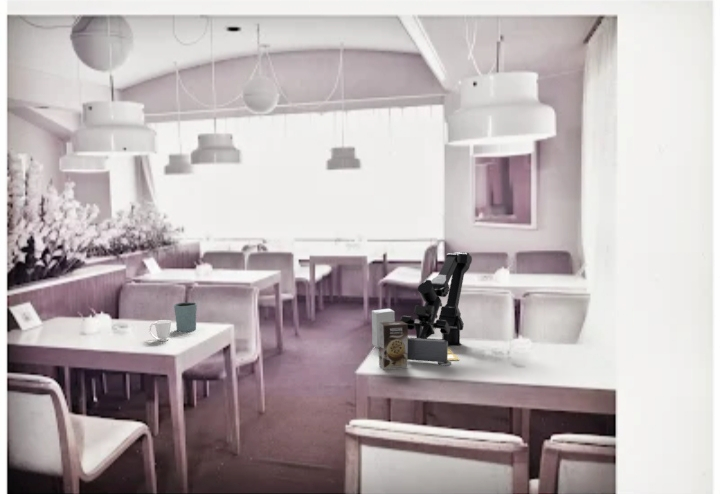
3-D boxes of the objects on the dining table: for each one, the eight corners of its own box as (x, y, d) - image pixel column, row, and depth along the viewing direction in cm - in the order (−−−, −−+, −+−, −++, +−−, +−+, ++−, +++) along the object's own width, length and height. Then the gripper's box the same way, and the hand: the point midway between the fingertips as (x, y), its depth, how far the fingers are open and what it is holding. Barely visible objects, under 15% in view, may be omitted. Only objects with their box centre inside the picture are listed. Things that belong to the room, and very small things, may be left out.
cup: (166, 342, 267) (165, 323, 267) (145, 341, 270) (144, 322, 269) (175, 338, 274) (174, 320, 274) (154, 337, 277) (154, 319, 276)
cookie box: (384, 370, 224) (383, 325, 223) (378, 365, 230) (378, 321, 229) (408, 368, 226) (408, 323, 225) (402, 363, 233) (402, 320, 231)
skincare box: (390, 343, 263) (389, 308, 262) (395, 346, 257) (395, 310, 256) (371, 345, 260) (371, 309, 259) (376, 348, 255) (376, 312, 253)
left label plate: (454, 354, 244) (454, 353, 244) (459, 360, 236) (459, 359, 236) (439, 355, 244) (439, 354, 243) (443, 360, 236) (443, 359, 236)
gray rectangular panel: (447, 360, 232) (447, 339, 231) (446, 362, 230) (446, 340, 229) (406, 358, 236) (406, 336, 235) (404, 359, 234) (404, 338, 233)
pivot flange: (449, 362, 234) (449, 360, 234) (452, 365, 229) (452, 364, 229) (436, 362, 234) (436, 360, 234) (438, 366, 229) (438, 364, 229)
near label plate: (448, 349, 253) (448, 347, 253) (452, 354, 245) (452, 353, 245) (433, 349, 252) (433, 348, 252) (437, 354, 244) (437, 353, 244)
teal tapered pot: (181, 333, 284) (180, 306, 283) (171, 329, 292) (170, 304, 291) (201, 329, 291) (200, 304, 290) (191, 326, 298) (190, 301, 297)
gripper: (402, 294, 242) (388, 328, 234) (447, 299, 233) (434, 334, 224) (411, 311, 250) (398, 345, 241) (455, 316, 240) (443, 351, 232)
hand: (418, 343), depth 235 cm, fingers closed
